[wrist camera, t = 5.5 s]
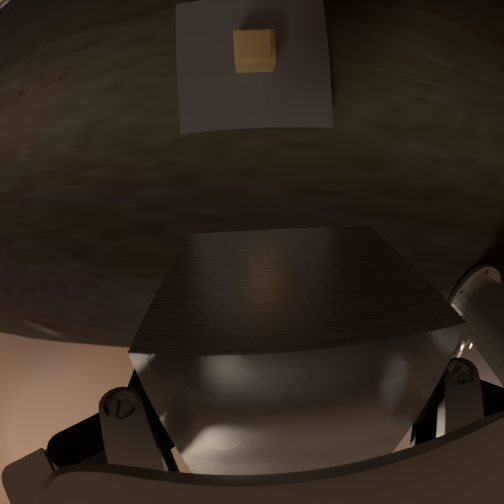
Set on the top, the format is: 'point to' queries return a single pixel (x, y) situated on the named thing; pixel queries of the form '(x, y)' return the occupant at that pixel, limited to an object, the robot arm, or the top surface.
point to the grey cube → (291, 349)
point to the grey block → (252, 65)
